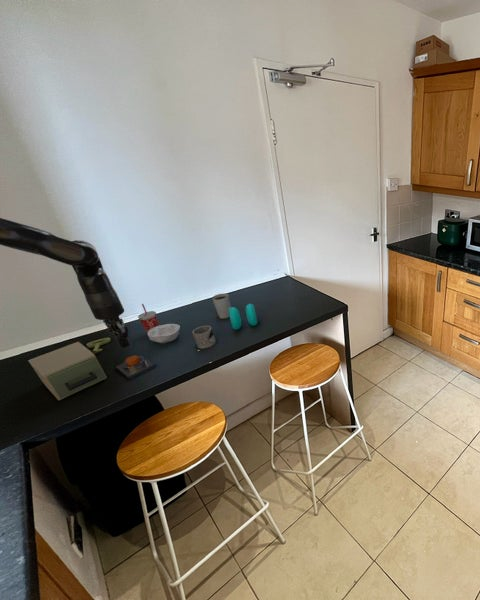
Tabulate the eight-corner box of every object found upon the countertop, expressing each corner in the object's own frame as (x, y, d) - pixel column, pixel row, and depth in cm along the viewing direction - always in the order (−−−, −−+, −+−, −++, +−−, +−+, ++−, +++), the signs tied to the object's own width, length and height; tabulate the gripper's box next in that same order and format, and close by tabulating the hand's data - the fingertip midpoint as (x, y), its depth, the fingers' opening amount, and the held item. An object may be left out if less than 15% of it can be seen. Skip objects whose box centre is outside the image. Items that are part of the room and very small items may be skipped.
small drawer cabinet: (107, 377, 109) (94, 354, 105) (58, 400, 100) (42, 375, 95) (91, 364, 116) (78, 341, 111) (43, 384, 106) (27, 360, 102)
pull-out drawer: (110, 382, 106) (100, 363, 102) (65, 404, 97) (52, 383, 93) (90, 365, 114) (79, 346, 110) (47, 383, 105) (34, 363, 102)
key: (95, 356, 120) (92, 352, 119) (86, 345, 126) (84, 341, 125) (118, 347, 125) (116, 343, 124) (108, 337, 132) (106, 333, 131)
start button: (141, 361, 113) (139, 357, 112) (129, 366, 110) (128, 362, 109) (137, 358, 115) (135, 354, 114) (125, 363, 112) (123, 359, 111)
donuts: (233, 323, 142) (227, 304, 137) (257, 318, 146) (252, 299, 141) (234, 334, 134) (228, 314, 129) (259, 328, 138) (254, 308, 133)
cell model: (165, 332, 135) (159, 318, 132) (189, 335, 133) (184, 321, 130) (144, 345, 126) (137, 331, 123) (169, 348, 124) (163, 334, 121)
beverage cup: (144, 338, 131) (131, 308, 125) (146, 331, 136) (134, 302, 130) (162, 334, 134) (150, 305, 127) (163, 327, 139) (152, 299, 132)
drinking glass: (236, 312, 150) (231, 294, 146) (226, 319, 145) (221, 300, 140) (224, 311, 152) (219, 292, 147) (214, 318, 146) (208, 298, 142)
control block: (155, 366, 114) (152, 360, 113) (129, 379, 108) (126, 372, 107) (142, 358, 119) (139, 351, 118) (117, 369, 113) (113, 363, 112)
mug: (215, 345, 126) (211, 332, 123) (196, 350, 124) (191, 336, 120) (216, 333, 134) (212, 320, 131) (198, 337, 132) (193, 324, 129)
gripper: (81, 301, 102) (104, 345, 109) (98, 312, 95) (120, 358, 103) (110, 293, 107) (129, 335, 115) (127, 302, 101) (146, 346, 109)
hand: (125, 346), depth 109 cm, fingers closed
